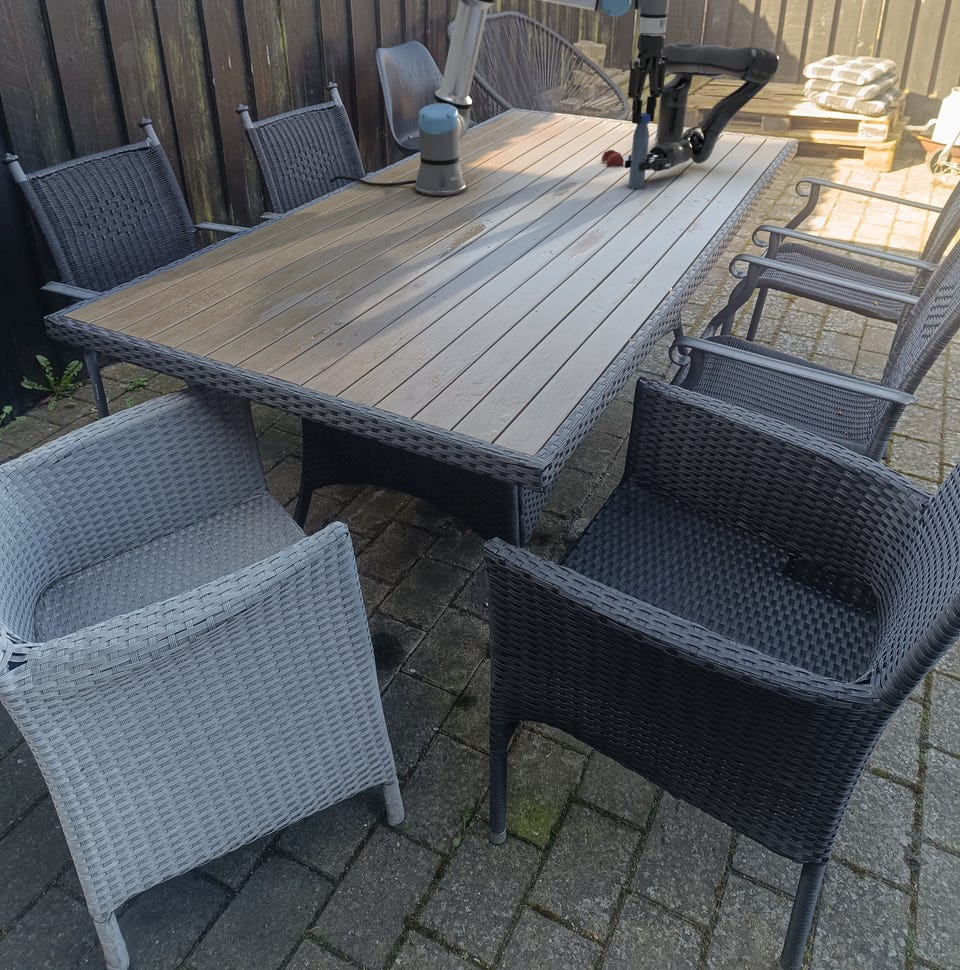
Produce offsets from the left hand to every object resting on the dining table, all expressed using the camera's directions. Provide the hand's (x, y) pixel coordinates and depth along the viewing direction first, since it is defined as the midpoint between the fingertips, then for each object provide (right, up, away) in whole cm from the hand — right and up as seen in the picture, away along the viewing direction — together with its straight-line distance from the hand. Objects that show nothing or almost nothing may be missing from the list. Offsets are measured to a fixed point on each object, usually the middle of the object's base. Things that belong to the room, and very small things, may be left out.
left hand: (642, 121), depth 250 cm
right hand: (-2, -11, +6) cm, 13 cm away
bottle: (0, -15, +11) cm, 19 cm away
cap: (0, +1, -1) cm, 2 cm away
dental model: (-4, 0, +32) cm, 32 cm away
